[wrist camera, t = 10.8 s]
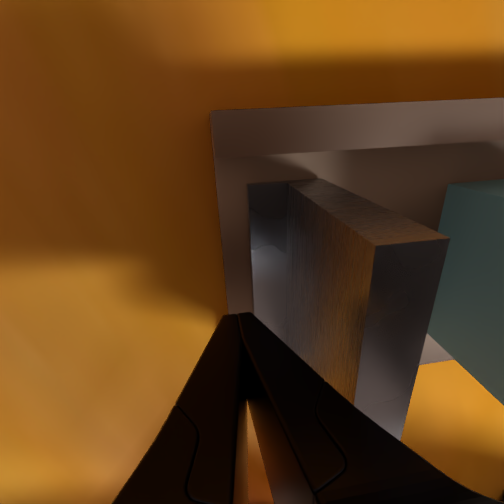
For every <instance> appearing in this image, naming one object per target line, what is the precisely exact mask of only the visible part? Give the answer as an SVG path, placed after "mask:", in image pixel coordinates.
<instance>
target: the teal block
mask: <svg viewBox="0 0 504 504" xmlns="http://www.w3.org/2000/svg"><path fill="white" fill-rule="evenodd" d="M438 233H441V234H443V235H445V236H447V237H449V238H450V242H449V246H448V250H447V254H446V258H445V262H444V266H443V270H442V274H441V278H440V282H439V286H438V290H437V294H436V298H435V302H434V306H433V310H432V314H431V318H430V322H429V326H428V330H427V334H428V335H429V336H431V337H432V338H433V339H434V340H435V341H436V342H437V343H438V344H439V345H440V346H441V347H442V348H443V349H444V350H445V351H446V352H448V353H449V354H450V355H451V356H452V357H453V358H454V359H455V360H456V361H457V362H458V363H459V364H460V365H461V366H462V367H463V368H465V369H466V370H467V371H468V372H469V373H470V374H471V375H472V376H473V377H474V378H475V379H476V380H477V381H478V382H479V383H480V384H482V385H483V386H484V387H485V388H486V389H487V390H488V391H489V392H490V393H491V394H492V395H493V396H494V397H495V398H496V399H498V400H499V401H500V402H501V403H502V404H503V405H504V179H499V180H487V181H476V182H464V183H453V184H448V187H447V192H446V196H445V201H444V205H443V210H442V214H441V219H440V223H439V228H438Z"/></svg>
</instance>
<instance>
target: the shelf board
mask: <svg viewBox="0 0 504 504" xmlns="http://www.w3.org/2000/svg"><path fill="white" fill-rule="evenodd" d="M209 115H210V125H211V136H212V147H213V157H214V168H215V178H216V189H217V199H218V210H219V220H220V231H221V241H222V252H223V263H224V273H225V284H226V294H227V305H228V314H238V313H243V312H251V313H252V314H253V296H252V277H251V258H250V239H249V220H248V201H247V184H249V183H263V182H276V181H289V180H303V179H316V178H322V179H324V180H326V181H328V182H331V183H333V184H335V185H337V186H339V187H341V188H344V189H346V190H348V191H350V192H352V193H354V194H356V195H359V196H361V197H363V198H365V199H367V200H369V201H372V202H374V203H376V204H378V205H380V206H382V207H385V208H387V209H389V210H391V211H393V212H395V213H397V214H400V215H402V216H404V217H406V218H408V219H410V220H413V221H415V222H417V223H419V224H421V225H423V226H426V227H428V228H430V229H432V230H434V231H436V232H438V228H439V223H440V219H441V214H442V210H443V205H444V201H445V196H446V192H447V187H448V184H453V183H464V182H476V181H487V180H499V179H504V98H484V99H461V100H439V101H416V102H394V103H371V104H349V105H327V106H304V107H282V108H259V109H237V110H214V111H211V112H210V114H209ZM447 360H454V358H453V357H452V356H451V355H450V354H449V353H448V352H446V351H445V350H444V349H443V348H442V347H441V346H440V345H439V344H438V343H437V342H436V341H435V340H434V339H433V338H432V337H431V336H429V335H428V334H426V338H425V343H424V347H423V351H422V355H421V359H420V363H419V365H422V364H428V363H435V362H441V361H447Z"/></svg>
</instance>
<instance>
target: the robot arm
mask: <svg viewBox="0 0 504 504" xmlns="http://www.w3.org/2000/svg"><path fill="white" fill-rule="evenodd" d="M247 401H248V405H249V409H250V413H251V416H252V420H253V424H254V428H255V432H256V435H257V439H258V443H259V447H260V451H261V455H262V458H263V462H264V466H265V470H266V474H267V477H268V481H269V485H270V489H271V493H272V497H273V500H274V504H504V499H503V501H502V502H501V501H498V500H495V499H492V498H489V497H486V496H484V495H482V494H479V493H477V492H475V491H473V490H471V489H469V488H467V487H465V486H463V485H461V484H460V483H458V482H456V481H455V480H453V479H452V478H450V477H448V476H447V475H445V474H444V473H443V472H441V471H440V470H438V469H437V468H436V467H434V466H433V465H432V464H430V463H429V462H428V461H426V460H425V459H423V458H422V457H421V456H419V455H418V454H417V453H415V452H414V451H413V450H411V449H410V448H409V447H407V446H406V445H405V444H403V443H402V442H401V441H399V440H398V439H397V438H395V437H394V436H393V435H391V434H390V433H389V432H387V431H386V430H385V429H383V428H382V427H381V426H379V425H378V424H377V423H375V422H374V421H373V420H372V419H370V418H369V417H368V416H366V415H365V414H364V413H363V412H361V411H360V410H359V409H357V408H356V407H355V406H354V405H353V404H351V403H350V402H349V401H348V400H347V399H346V398H345V397H343V396H342V395H341V394H340V393H339V392H338V391H337V390H335V389H334V388H333V387H332V386H331V385H330V384H329V383H328V382H327V381H325V380H324V379H323V378H322V377H321V376H320V375H319V374H318V373H317V372H316V371H315V370H313V369H312V368H311V367H310V366H309V365H308V364H307V363H306V362H305V361H304V360H303V359H302V358H300V357H299V356H298V355H297V354H296V353H295V352H294V351H293V350H292V349H291V348H290V347H288V346H287V345H286V344H285V343H284V342H283V341H282V340H281V339H280V338H279V337H278V336H276V335H275V334H274V333H273V332H272V331H271V330H270V329H269V328H268V327H267V326H266V325H264V324H263V323H262V322H261V321H260V320H259V319H258V318H257V317H256V316H255V315H254V314H252V313H251V312H243V313H238V314H228V315H223V317H222V318H221V320H220V322H219V324H218V326H217V327H216V329H215V331H214V333H213V335H212V337H211V338H210V340H209V342H208V344H207V346H206V348H205V349H204V351H203V353H202V355H201V357H200V359H199V361H198V362H197V364H196V366H195V368H194V370H193V372H192V373H191V375H190V377H189V379H188V381H187V383H186V384H185V386H184V388H183V390H182V392H181V394H180V396H179V397H178V399H177V401H176V403H175V406H173V408H172V410H171V412H170V414H169V415H168V417H167V419H166V421H165V423H164V424H163V426H162V428H161V430H160V431H159V433H158V435H157V436H156V438H155V440H154V442H153V443H152V445H151V446H150V448H149V449H148V451H147V452H146V454H145V455H144V457H143V458H142V460H141V461H140V463H139V464H138V466H137V467H136V469H135V470H134V472H133V473H132V475H131V476H130V478H129V479H128V480H127V482H126V483H125V485H124V486H123V488H122V489H121V491H120V492H119V493H118V495H117V496H116V498H115V499H114V501H113V502H112V504H248V437H247Z"/></svg>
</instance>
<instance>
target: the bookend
mask: <svg viewBox="0 0 504 504" xmlns="http://www.w3.org/2000/svg"><path fill="white" fill-rule="evenodd" d="M247 201H248V220H249V239H250V258H251V277H252V296H253V314H254V315H255V316H256V317H257V318H258V319H259V320H260V321H261V322H262V323H263V324H264V325H266V326H267V327H268V328H269V329H270V330H271V331H272V332H273V333H274V334H275V335H276V336H278V337H279V338H280V339H281V340H282V341H283V342H284V343H285V344H286V345H287V346H288V347H290V348H291V349H292V350H293V351H294V352H295V353H296V354H297V355H298V356H299V357H300V358H302V359H303V360H304V361H305V362H306V363H307V364H308V365H309V366H310V367H311V368H312V369H313V370H315V371H316V372H317V373H318V374H319V375H320V376H321V377H322V378H323V379H324V380H325V381H327V382H328V383H329V384H330V385H331V386H332V387H333V388H334V389H335V390H337V391H338V392H339V393H340V394H341V395H342V396H343V397H345V398H346V399H347V400H348V401H349V402H350V403H351V404H353V405H354V406H355V407H356V408H357V409H359V410H360V411H361V412H363V413H364V414H365V415H366V416H368V417H369V418H370V419H372V420H373V421H374V422H375V423H377V424H378V425H379V426H381V427H382V428H383V429H385V430H386V431H387V432H389V433H390V434H391V435H393V436H394V437H395V438H397V439H398V440H399V441H400V439H401V435H402V431H403V427H404V423H405V419H406V415H407V411H408V407H409V403H410V399H411V395H412V391H413V387H414V383H415V379H416V375H417V371H418V367H419V363H420V359H421V355H422V351H423V347H424V343H425V338H426V334H427V330H428V326H429V322H430V318H431V314H432V310H433V306H434V302H435V298H436V294H437V290H438V286H439V282H440V278H441V274H442V270H443V266H444V262H445V258H446V254H447V250H448V246H449V242H450V238H449V237H447V236H445V235H443V234H441V233H438V232H436V231H434V230H432V229H430V228H428V227H426V226H423V225H421V224H419V223H417V222H415V221H413V220H410V219H408V218H406V217H404V216H402V215H400V214H397V213H395V212H393V211H391V210H389V209H387V208H385V207H382V206H380V205H378V204H376V203H374V202H372V201H369V200H367V199H365V198H363V197H361V196H359V195H356V194H354V193H352V192H350V191H348V190H346V189H344V188H341V187H339V186H337V185H335V184H333V183H331V182H328V181H326V180H324V179H322V178H316V179H303V180H289V181H276V182H263V183H249V184H247Z"/></svg>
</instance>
